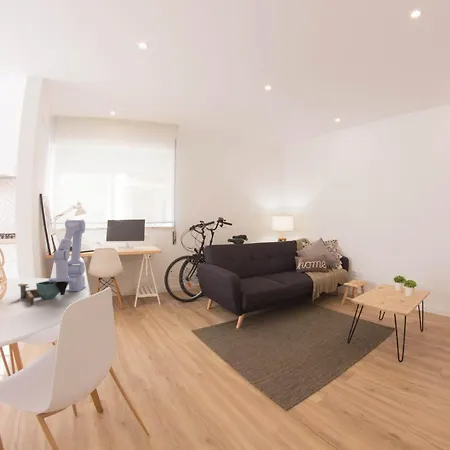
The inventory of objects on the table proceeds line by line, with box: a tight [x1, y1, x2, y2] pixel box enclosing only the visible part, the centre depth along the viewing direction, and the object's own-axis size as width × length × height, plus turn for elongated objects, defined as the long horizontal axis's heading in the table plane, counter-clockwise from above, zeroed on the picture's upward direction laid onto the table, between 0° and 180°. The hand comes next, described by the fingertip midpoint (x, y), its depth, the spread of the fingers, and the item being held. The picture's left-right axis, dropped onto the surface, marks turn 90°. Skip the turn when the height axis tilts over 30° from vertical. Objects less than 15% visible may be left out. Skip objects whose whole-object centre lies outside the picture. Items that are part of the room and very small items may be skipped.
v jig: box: [17, 282, 60, 306], centre depth 153 cm, size 23×16×8 cm
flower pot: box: [35, 280, 60, 301], centre depth 153 cm, size 9×9×9 cm
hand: (62, 294), depth 153 cm, fingers closed
